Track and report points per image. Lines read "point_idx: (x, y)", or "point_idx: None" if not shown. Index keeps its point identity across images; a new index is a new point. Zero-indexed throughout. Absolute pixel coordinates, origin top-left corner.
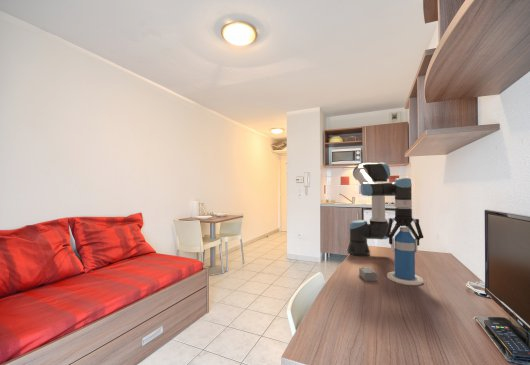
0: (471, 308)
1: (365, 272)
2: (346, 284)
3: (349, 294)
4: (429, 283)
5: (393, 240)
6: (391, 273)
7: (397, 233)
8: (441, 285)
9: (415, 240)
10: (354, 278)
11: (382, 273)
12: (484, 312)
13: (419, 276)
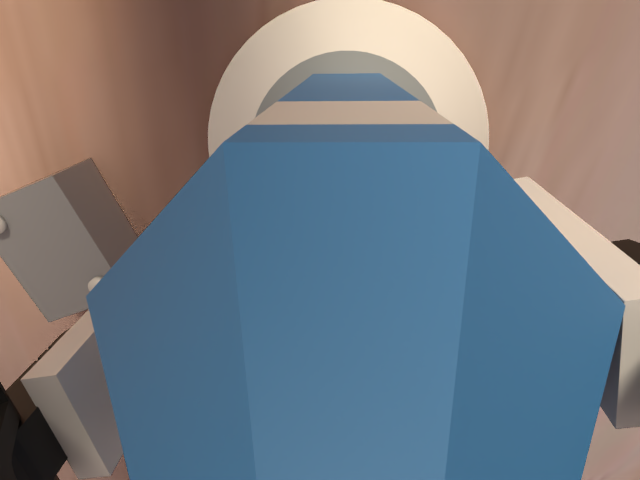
0: (593, 456)
1: (51, 314)
2: (8, 379)
3: (67, 476)
4: (520, 176)
5: (117, 444)
6: (243, 106)
7: (114, 413)
8: (599, 187)
9: (603, 401)
10: (11, 272)
11: (171, 66)
12: (631, 474)
13: (479, 92)
